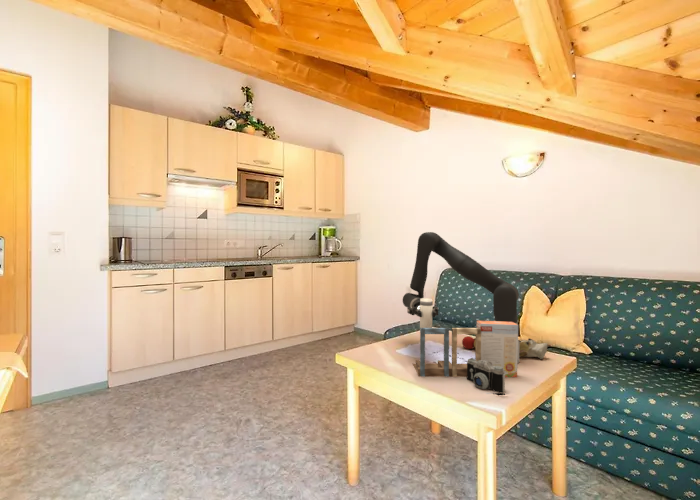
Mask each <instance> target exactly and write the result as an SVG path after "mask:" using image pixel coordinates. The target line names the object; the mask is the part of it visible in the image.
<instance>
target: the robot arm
mask: <svg viewBox="0 0 700 500" xmlns="http://www.w3.org/2000/svg"><path fill="white" fill-rule="evenodd" d="M432 252H433V253H434V254H437V255H438V256H439V257H441V258H442V259H444V260H445V262H446V263H447V264H448V265H449V266H450V267H451V268H452V270H454V272H456V273H457V274H458V275H460V276H461V277H463V278H464V279H466V280H468V281H470V282H472V283H473V284H475V285H476V284H477V285H479V286H480V287H482V288H484V289H486V290H487V291H488V292H489V293H491V294H492V296H493V297H492V298H493V299H492V300H493V305H492V306H493V312H492V313H493V317H494V320H493V321H503V322H514V323H515V324H517V325H518V326H519V324H518V323H519V322H518V321H519V320H518V318H519V317H518V312H517V311H518V309H517V308H518V307H517V306H518V304H517V303H518V299H519V298H520V297H519V296H520V295H519V293H520V292H519V290H518V289H517V287H516V286H514V285H513V284H511V283H509V282H507V281H505V280H503V279H501V278H500V277H498V276H496V275H495V274H494V273H492V272H491V271H489V270H488V269H487V268H485V266H483V265H482V264H480V262H478V261H476V260H475V259H473V258H472V257H470V256H469V255H467V254H465V253H464V252H462V251H461V250H459V249H457V248H456V247H454V246H453V245H451V244H450V243H448V242H447V241H446V240H445V239H444V238H442V237H441V236H440V235H439V234H437V232H433V231H426V232H423V233H422V234H420V236H419V237H418V240H417V249H416V256H415V258H416V259H415V263H414V264H415V265H414V269H413V272H412V277H411V280H410V284H409V288H410V289H411V290H413V291H415V292H416V293H417V294H415V293H410V292H406V293H405V294H404V295H403V296H402V304H403V306H404V307H406V309H407V314H408V315H409V314H410V315H411V316H416V317H419V318H420V317H422V312H421V311H420V299H421V298H425V297H424V295H425V294H424V291H425V286H426V281H427V278H428V264H429V258H430V256H431V253H432ZM437 316H439V307H438V306H436V307H434V308H432V318H436V317H437ZM519 343H520V340H519V339H518V361H517V364H518V363H520V357H519Z"/></svg>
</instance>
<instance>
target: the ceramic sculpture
mask: <svg viewBox="0 0 700 500" xmlns="http://www.w3.org/2000/svg"><path fill="white" fill-rule="evenodd" d="M548 345H549V343H548V342H545V343H538V342H536V341H535V340H534V339H533V338H528V339H527V340H521V341H519V358H520V357H521V358H522V357H524V358H534V357H535V358H539V359H540V360H543V359H544V357H545V356H546V353H547V352H548Z"/></svg>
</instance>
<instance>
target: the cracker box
mask: <svg viewBox="0 0 700 500" xmlns="http://www.w3.org/2000/svg"><path fill="white" fill-rule="evenodd" d="M476 328H480V329H481V360H487V361H490V362H492V364H493V365H494V366H500V367H503V369H504V373H505V378H518V363H517V361H518V340H519V324H518V325H517V324H515V323H514V322H503V321H494V320H476Z"/></svg>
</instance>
